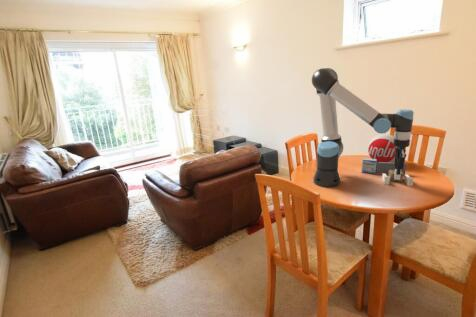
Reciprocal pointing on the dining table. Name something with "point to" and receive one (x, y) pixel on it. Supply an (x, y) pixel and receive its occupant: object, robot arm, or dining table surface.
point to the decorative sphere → (382, 148)
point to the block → (391, 175)
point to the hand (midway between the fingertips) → (396, 179)
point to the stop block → (387, 167)
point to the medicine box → (369, 165)
